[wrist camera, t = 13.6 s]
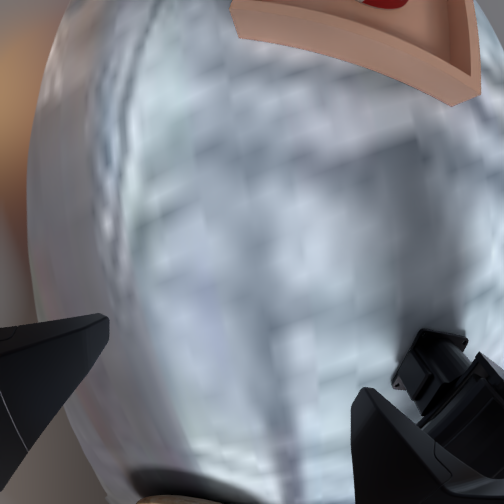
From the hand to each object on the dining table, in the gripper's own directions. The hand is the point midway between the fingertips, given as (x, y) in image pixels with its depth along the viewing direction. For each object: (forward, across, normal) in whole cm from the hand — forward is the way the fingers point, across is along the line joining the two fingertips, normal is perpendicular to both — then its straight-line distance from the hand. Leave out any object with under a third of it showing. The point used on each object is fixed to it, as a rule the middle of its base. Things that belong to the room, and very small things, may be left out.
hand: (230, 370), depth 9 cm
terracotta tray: (+13, -3, -26) cm, 29 cm away
